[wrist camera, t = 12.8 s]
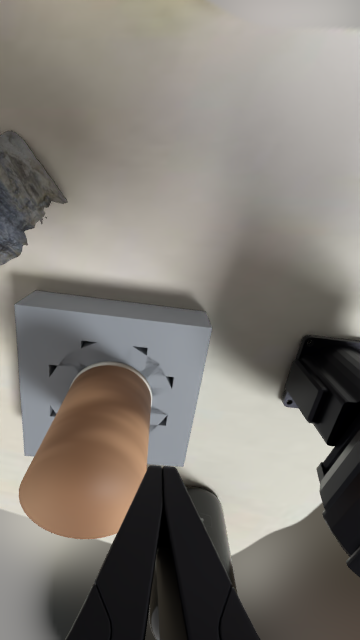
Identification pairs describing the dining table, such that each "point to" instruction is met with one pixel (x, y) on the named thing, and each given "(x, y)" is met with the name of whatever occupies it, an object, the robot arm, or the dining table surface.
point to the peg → (91, 454)
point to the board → (116, 346)
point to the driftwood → (21, 194)
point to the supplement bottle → (216, 530)
